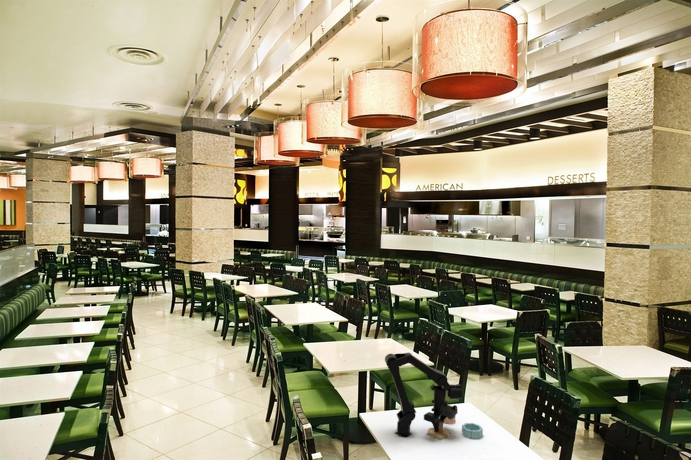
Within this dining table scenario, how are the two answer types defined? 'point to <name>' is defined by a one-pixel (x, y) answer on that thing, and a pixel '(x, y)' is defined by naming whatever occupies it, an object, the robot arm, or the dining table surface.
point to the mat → (437, 438)
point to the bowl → (472, 430)
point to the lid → (440, 434)
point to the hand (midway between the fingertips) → (438, 430)
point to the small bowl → (449, 421)
